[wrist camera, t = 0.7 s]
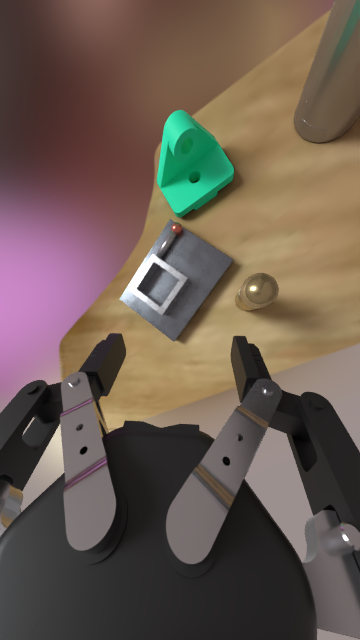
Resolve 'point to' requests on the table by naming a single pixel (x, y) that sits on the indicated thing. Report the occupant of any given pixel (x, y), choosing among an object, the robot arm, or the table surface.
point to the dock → (175, 279)
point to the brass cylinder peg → (257, 292)
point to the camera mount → (190, 164)
